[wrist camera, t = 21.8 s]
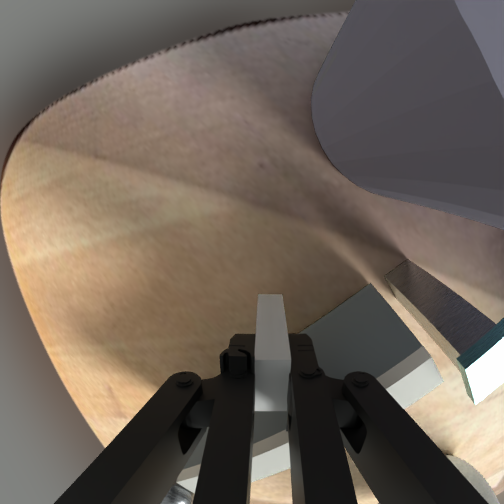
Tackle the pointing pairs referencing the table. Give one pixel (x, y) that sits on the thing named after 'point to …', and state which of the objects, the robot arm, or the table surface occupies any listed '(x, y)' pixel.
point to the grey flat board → (342, 373)
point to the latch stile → (453, 327)
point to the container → (418, 103)
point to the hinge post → (178, 495)
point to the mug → (474, 479)
